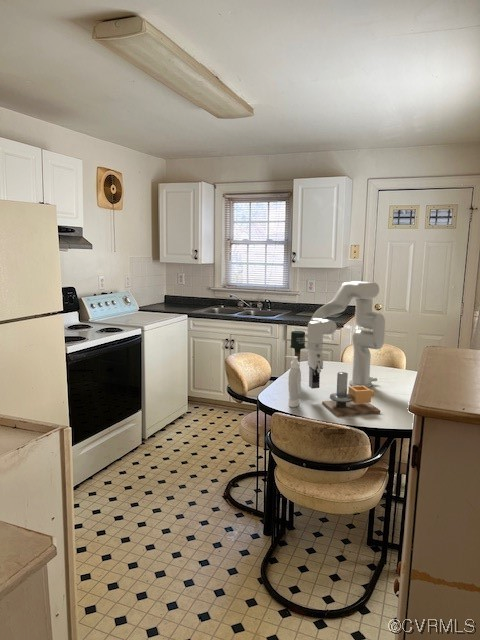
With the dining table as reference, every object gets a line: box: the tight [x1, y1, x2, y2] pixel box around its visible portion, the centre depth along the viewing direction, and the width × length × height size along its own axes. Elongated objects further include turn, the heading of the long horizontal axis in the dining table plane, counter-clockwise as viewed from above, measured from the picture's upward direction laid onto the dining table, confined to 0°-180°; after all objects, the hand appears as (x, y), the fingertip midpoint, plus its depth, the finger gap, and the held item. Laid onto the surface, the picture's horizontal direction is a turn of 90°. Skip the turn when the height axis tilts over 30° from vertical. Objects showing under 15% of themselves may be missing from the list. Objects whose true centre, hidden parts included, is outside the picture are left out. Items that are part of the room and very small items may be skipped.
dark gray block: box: [308, 366, 321, 390], centre depth 239 cm, size 4×4×10 cm
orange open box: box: [347, 385, 376, 403], centre depth 231 cm, size 12×8×6 cm
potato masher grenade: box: [289, 330, 306, 364], centre depth 270 cm, size 8×9×30 cm
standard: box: [329, 371, 353, 408], centre depth 228 cm, size 11×11×16 cm
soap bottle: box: [285, 355, 302, 408], centre depth 234 cm, size 13×8×24 cm, turn 159°
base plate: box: [321, 400, 381, 418], centre depth 231 cm, size 22×18×2 cm
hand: (314, 380), depth 240 cm, fingers closed on dark gray block, 4 cm apart
